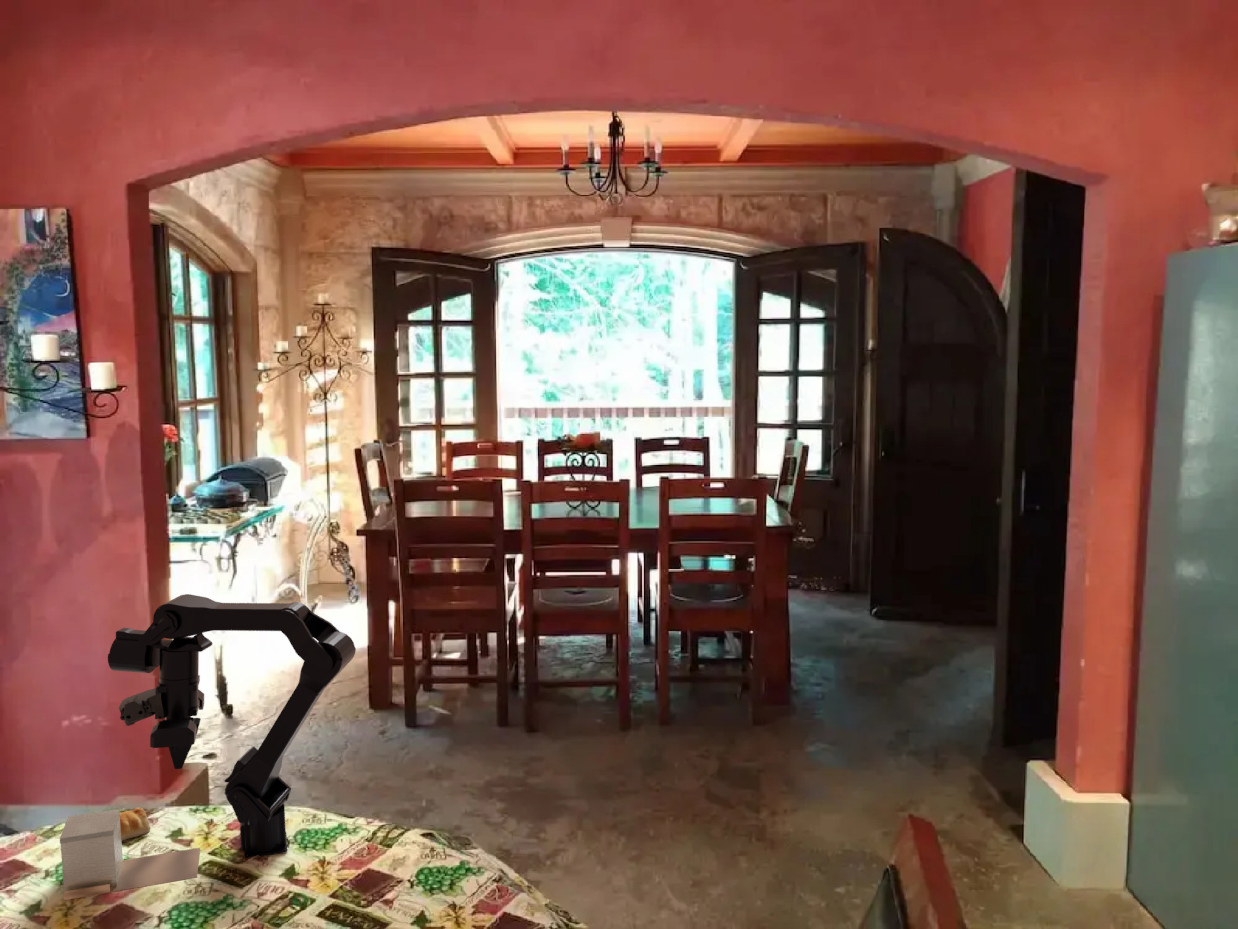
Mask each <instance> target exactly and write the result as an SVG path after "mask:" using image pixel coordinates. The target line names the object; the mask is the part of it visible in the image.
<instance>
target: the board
mask: <svg viewBox="0 0 1238 929" xmlns="http://www.w3.org/2000/svg"><path fill="white" fill-rule="evenodd" d="M200 854H201V847H196V848H195V847H194V848H189V849H184V850H178V851H173V852H172V851H170V852H165V853H159V854H158V853H157V854H152V855H146V856H141V857H134V858H129V859H123V865H122V869H121V873H120V877H119V881H118V885H117V887H111V888H110V884H107V885H101V886H95V887H89V888H83V889H77V890H71V891H65V892H64V891H63V900H64V901H68V900H75V899H81V898H87V897H92V896H98V895H105V894H109V893H110V894H111V893H115V892H121V891H128V890H134V889H137V888H138V889H139V888H143V887H144V888H145V887H149V886H156V885H161V884H167V883H172V882H179V881H180V882H181V881H185V880H190V879H191V880H192V879H195V878H198V872H199V864H200Z"/></svg>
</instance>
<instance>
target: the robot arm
mask: <svg viewBox="0 0 1238 929" xmlns="http://www.w3.org/2000/svg"><path fill="white" fill-rule="evenodd" d="M213 631H220V632H221V631H224V632H228V631H231V632H233V631H235V632H236V631H237V632H239V631H241V632H242V631H243V632H247V631H248V632H281V633H282V634H283V635H284V636H285V637H286V638H287V640H288V642H289V643H290V646H291V647H292V649H293V650H294V651H295V654H296V655H298V657H300V659H302V660H303V663H302V666H301V668H300V673H299V678H298V679H299V681H298V683H297V685H296V687H295V688H294V690H293V692H292V693H291V695H290V697H289V698H288V700H287V702H286V704H284V706H283V709H282V710H281V712H280V713H279V714H278V716H277V718H276V720H275V721H274V723H273V725H272V726H271V728H270V730H269V731H268V733H267V734H266V736H265V738H264V739H263V742H261V744H260V745H259V748H258V749H257V748H256V747H255V746H254V745H252V747H250V748H249V749H248V750H247V751H246V752H245V753H244V754H243V755H242V756H241V757H240V758H238V759H237V760H236V762H235V764H234V766H233V769H232V770H231V771H232V772H231V773H230V775H228V776H227V777H226V779H225V780H224V783H227V784H226V786H225V789H224V795H225V797H226V800H227V802H228V803H229V804H230V805H231V807H232V810H233V813H234V814H235V816H236V818H237V820H238V821H237V822H238V823H239V831H240V833H239V834H240V848H241V849H240V850H241V851H242V852H244V856H243V857H244V859H249V858H255V857H259V858H260V857H267V856H271V855H272V856H273V855H279V854H284V853H287V852H288V838H287V831H286V812H285V810H286V809H285V802H287V801H288V800H289V798H290V794H291V793H292V788H291V787H290V786H289V785H288V784H287V782H286V781H284V780H283V779H282V778H281V777H280V776H279V775H280V771H281V769H282V765H283V758H284V756H285V754H286V752H287V751H288V749H289V747H290V745H291V744H292V742H293V741H294V739H295V738H296V736H297V734H298V733H299V731H300V730H301V728H302V726H303V724H305V721H306V720H307V718H308V717H309V715H310V713H311V712H312V710H313V709H314V707H315V706H316V704H317V702H318V700H319V699H320V697H321V696H322V694H323V692H324V691H325V689H326V688H327V687H328V686H329V685H330V684H331V683H332V682H333V681H334V680H335V679H336V678H337V676H338V675H340V673H341V672H342V671H343V670H344V669H345V668H346V666H348V665H349V664H350V662H351V661H352V660H353V658H354V657H355V655H356V647H355V642H354V641H353V639H352V638H351V637H350V636H349V635H348V634H347V633H345V632H342V631H340V630H339V629H338V628H337V627H336V626H335V625H333V624H332V622H331V621H328V620H327V619H325V618H323V617H321V616H320V615H318V614H316V613H314V612H313V611H312V610H311V609H310V608H309V607H308V606H307V605H305V604H304V603H303V602H299V601H293V602H290V603H288V602H286V603H284V602H282V603H279V602H278V603H277V602H276V603H275V602H274V603H273V602H269V603H268V602H266V603H265V602H263V603H262V602H256V603H255V602H220V601H215V600H213V599H211V598H209V597H206V596H202V595H201V596H200V595H195V594H187V593H186V594H181V595H179V596H176V597H174V598H173V599H171V600H169V601H167V602H165V603H163V604H161V605H159V606H158V607H157V609H155V612H154V613H153V617H152V622H151V624H149V627H147V629H146V630H144V629H143V630H140V629H133V628H129V627H122V628H120V629H118V630H116V631H115V639H114V640H113V642H112V643H111V646H110V647H109V648H110V650H109V653H108V654H107V664H108V666H109V668H110V669H111V670H112V671H114V672H127V673H138V674H139V673H142V674H151V673H152V672H153V671H154V670H155V669H156V668H158V667H159V680H158V684H157V685H156V687H154V688H152V689H148V690H145V691H142V692H139V693H136V694H134V695H131V696H129V697H126V698H124V699H123V700H122V701H121V702H120V705H119V706H118V710H119V713H120V716H119V719H120V720H121V721H123V722H124V724H125V726H126V727H129V726H132V725H135V724H136V723H137V722H140V721H142V720H145V719H147V718H150V717H153V716H154V719H155V720H160V721H158V722H157V723H155V725H154V726H153V727H152V729H151V732H150V736H149V746H150V747H149V748H152V749H161V748H168V751H169V753H170V757H171V760H172V765H173V768H174V770H181V769H183V767H184V764H185V762H186V759H187V757H188V755H189V753H190V751H191V748H192V746H193V745H195V742H196V739H197V734H198V731H199V726H200V723H201V721H202V720H201V718H200V717H196V716H198V712H199V711H203V710H204V707H205V693H204V692H203V691H201V689H199V684H200V680H201V679H200V678H201V675H200V674H199V665H200V664H199V663H200V662H199V654H200V653H202V652H204V651H205V650H207V649H208V648H210V647H211V646H213V642H212V641H211V640H210V639H209V638H207V637H206V636H205V635H204V634H203V633H207V632H213ZM164 718H165V719H164Z"/></svg>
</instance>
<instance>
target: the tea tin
mask: <svg viewBox="0 0 1238 929" xmlns="http://www.w3.org/2000/svg"><path fill="white" fill-rule="evenodd" d="M120 813H121V811H120V808H118V809H112V810H111V809H110V810H105V811H97V812H91V813H84V814H78V815H71V816H67V818H66V821H65V824H64V826H63V828H62V832H61V834H60V837H59V844H60V853H61V854H60V855H61V866H62V869H61V870H62V880H63V893H64V892H65V891H71V890H77V889H83V888H89V887H95V886H101V885H107V884H110V888H111V887H117V885H118V881H119V877H120V873H121V869H122V865H123V860H124V858H123V846H122V845H123V844H122V841H121V828H120Z"/></svg>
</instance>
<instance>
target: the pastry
mask: <svg viewBox="0 0 1238 929" xmlns="http://www.w3.org/2000/svg"><path fill="white" fill-rule="evenodd" d="M120 828H121V842H123V841H125V840H128V839H131V838H136V837H140V836H141V835H146V834H147V833H149V832H150V831H151V825H150V821H149V819H148V817H147V814H146V811H145V810H144V808H142V807H138V806H137V807H134V809H132V810H128V811H127V810H125V811H122V812H120Z"/></svg>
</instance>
